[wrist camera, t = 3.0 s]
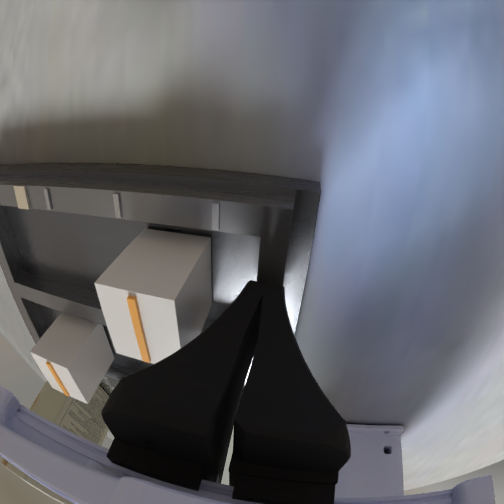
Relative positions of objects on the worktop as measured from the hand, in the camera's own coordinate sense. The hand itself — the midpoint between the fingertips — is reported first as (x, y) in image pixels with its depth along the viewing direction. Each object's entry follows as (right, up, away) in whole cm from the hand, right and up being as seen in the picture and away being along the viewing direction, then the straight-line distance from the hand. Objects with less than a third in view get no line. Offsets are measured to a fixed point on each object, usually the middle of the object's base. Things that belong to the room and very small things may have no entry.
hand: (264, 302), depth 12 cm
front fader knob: (-4, +1, +2) cm, 4 cm away
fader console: (-8, 0, +5) cm, 9 cm away
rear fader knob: (-11, -3, +6) cm, 13 cm away
